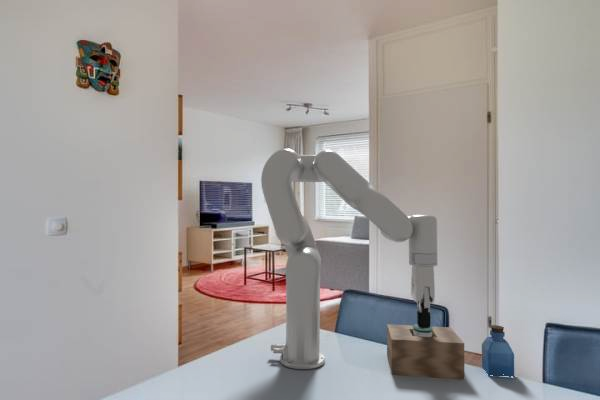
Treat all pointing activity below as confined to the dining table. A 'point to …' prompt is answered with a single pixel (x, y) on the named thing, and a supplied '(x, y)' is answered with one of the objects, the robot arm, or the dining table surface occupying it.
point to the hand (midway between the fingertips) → (423, 326)
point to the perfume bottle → (497, 354)
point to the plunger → (422, 331)
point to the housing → (425, 352)
